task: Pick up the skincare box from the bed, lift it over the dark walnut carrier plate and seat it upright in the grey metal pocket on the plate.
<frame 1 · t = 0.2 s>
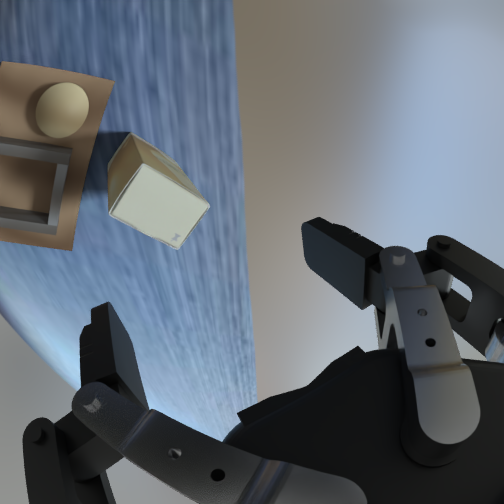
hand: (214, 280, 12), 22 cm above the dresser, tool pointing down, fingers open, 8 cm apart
skincare box: (140, 161, 29), on the dresser
carrier plate: (33, 158, 23), on the dresser
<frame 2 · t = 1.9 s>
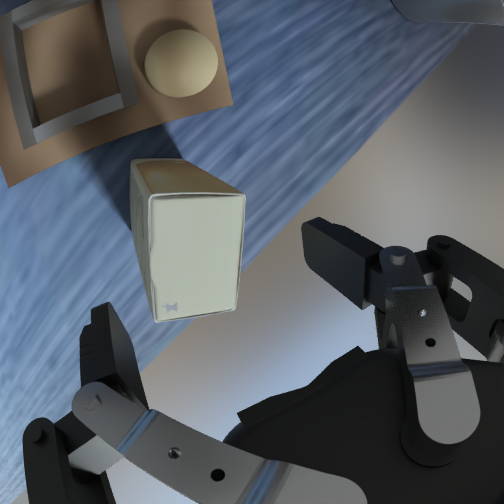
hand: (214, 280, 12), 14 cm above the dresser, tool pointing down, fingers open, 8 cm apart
skincare box: (156, 193, 23), on the dresser
carrier plate: (97, 64, 17), on the dresser
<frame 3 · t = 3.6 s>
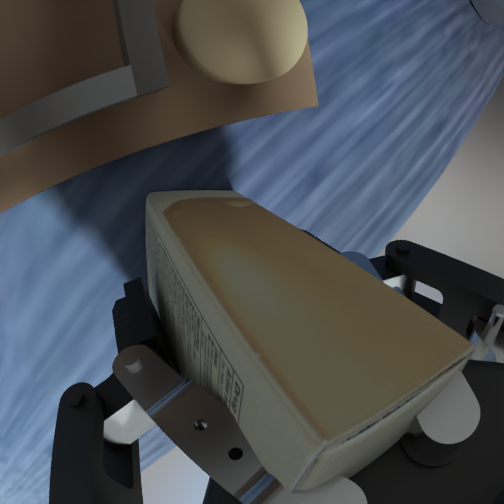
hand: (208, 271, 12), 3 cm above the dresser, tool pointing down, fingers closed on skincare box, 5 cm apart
skincare box: (188, 247, 15), on the dresser, touching gripper
carrier plate: (88, 24, 8), on the dresser
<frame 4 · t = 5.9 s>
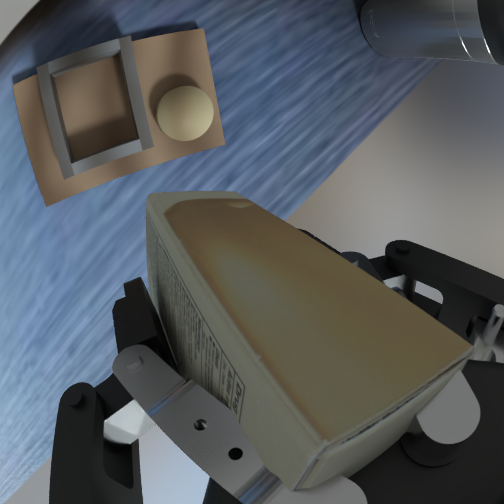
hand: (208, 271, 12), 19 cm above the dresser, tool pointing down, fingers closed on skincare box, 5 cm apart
skincare box: (189, 248, 15), point 16 cm above the dresser, touching gripper
carrier plate: (118, 109, 24), on the dresser
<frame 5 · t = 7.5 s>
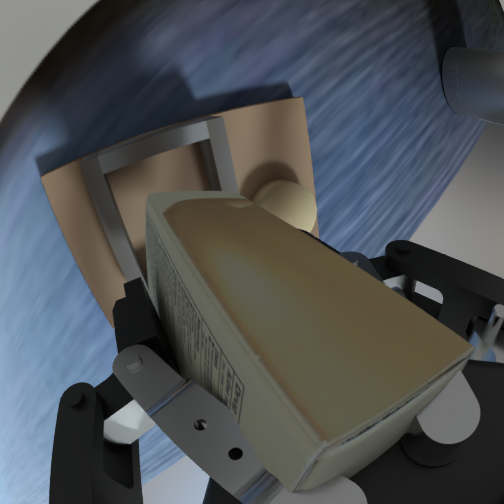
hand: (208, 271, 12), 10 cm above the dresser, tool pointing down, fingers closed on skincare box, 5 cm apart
skincare box: (188, 247, 15), point 7 cm above the dresser, touching gripper
carrier plate: (196, 206, 21), on the dresser
when the fingers open (5 cm above the dresser, at t = 8.7 s): skincare box drops 1 cm, resting on carrier plate.
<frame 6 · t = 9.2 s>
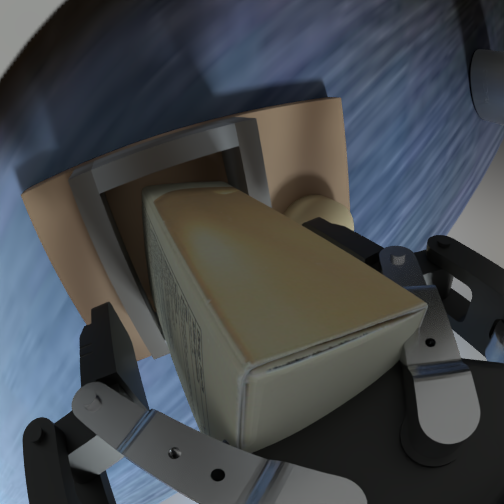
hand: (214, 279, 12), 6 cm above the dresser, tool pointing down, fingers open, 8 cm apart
skincare box: (183, 235, 16), point 1 cm above the dresser, touching carrier plate
carrier plate: (214, 227, 18), on the dresser
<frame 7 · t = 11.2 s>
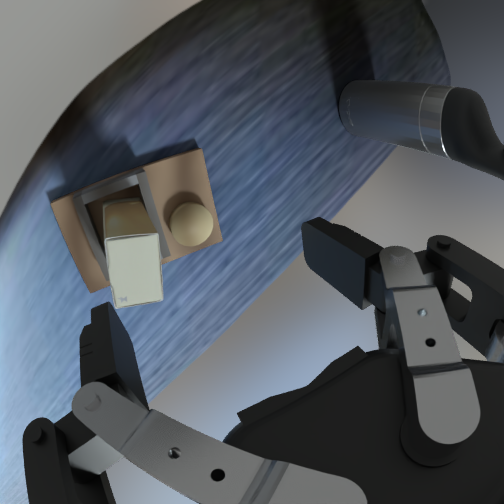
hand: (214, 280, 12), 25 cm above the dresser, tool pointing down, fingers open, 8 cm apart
skincare box: (122, 222, 32), point 1 cm above the dresser, touching carrier plate
carrier plate: (139, 219, 34), on the dresser
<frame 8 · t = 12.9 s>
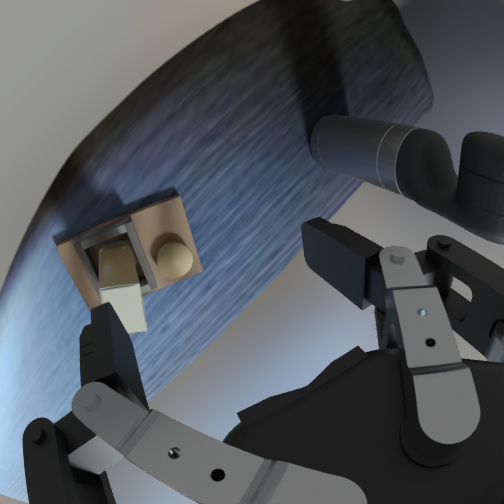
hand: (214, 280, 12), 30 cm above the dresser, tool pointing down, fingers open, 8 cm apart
skincare box: (116, 260, 39), point 1 cm above the dresser, touching carrier plate
carrier plate: (131, 256, 41), on the dresser
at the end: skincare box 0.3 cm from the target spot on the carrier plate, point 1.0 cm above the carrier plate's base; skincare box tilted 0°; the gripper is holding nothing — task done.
